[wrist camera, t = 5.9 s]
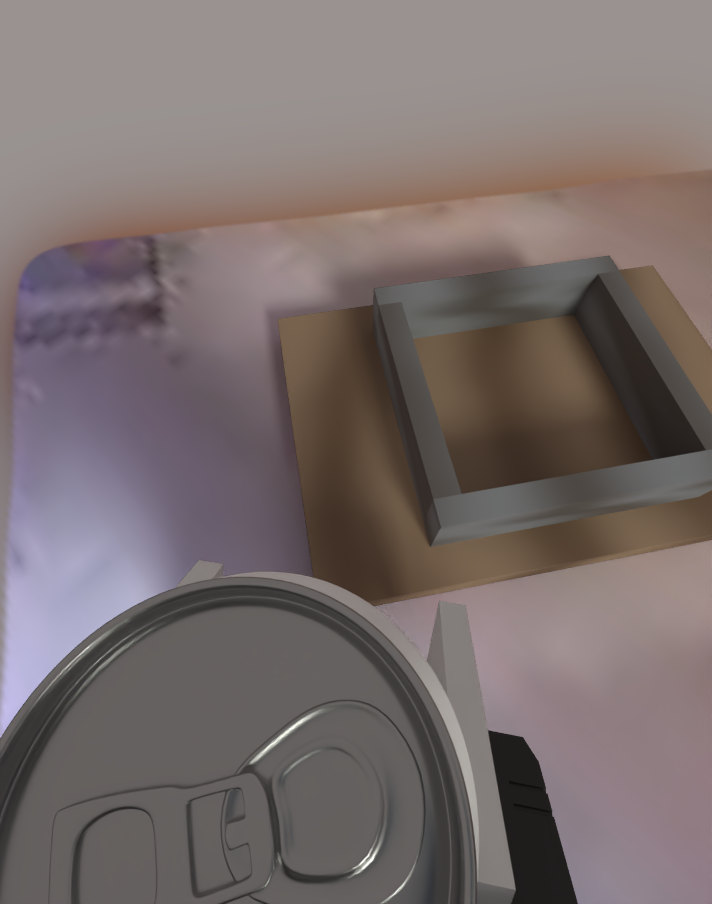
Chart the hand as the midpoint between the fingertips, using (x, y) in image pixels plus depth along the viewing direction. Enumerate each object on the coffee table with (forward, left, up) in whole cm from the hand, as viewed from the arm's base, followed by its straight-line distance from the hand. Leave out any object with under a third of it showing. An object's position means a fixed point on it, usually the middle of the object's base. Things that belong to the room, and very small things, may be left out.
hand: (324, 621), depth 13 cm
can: (+1, +3, -4) cm, 5 cm away
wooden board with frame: (-10, -8, -4) cm, 13 cm away
